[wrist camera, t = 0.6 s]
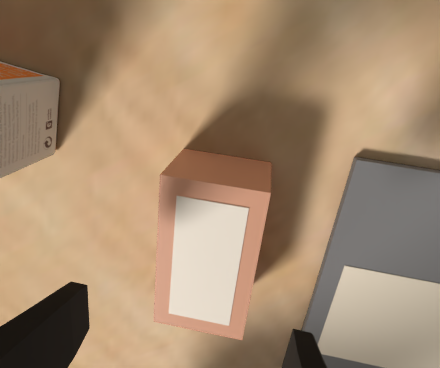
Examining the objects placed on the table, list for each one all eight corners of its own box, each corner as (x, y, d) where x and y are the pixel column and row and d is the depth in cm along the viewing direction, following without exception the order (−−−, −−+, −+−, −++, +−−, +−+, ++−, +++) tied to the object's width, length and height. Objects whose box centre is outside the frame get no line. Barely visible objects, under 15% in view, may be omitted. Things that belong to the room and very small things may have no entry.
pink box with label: (247, 286, 19) (242, 341, 16) (175, 271, 20) (153, 322, 16) (271, 161, 16) (270, 193, 13) (184, 147, 17) (159, 175, 13)
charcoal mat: (460, 443, 21) (465, 452, 21) (280, 400, 22) (280, 408, 22) (631, 201, 14) (644, 206, 14) (354, 156, 15) (357, 160, 15)
